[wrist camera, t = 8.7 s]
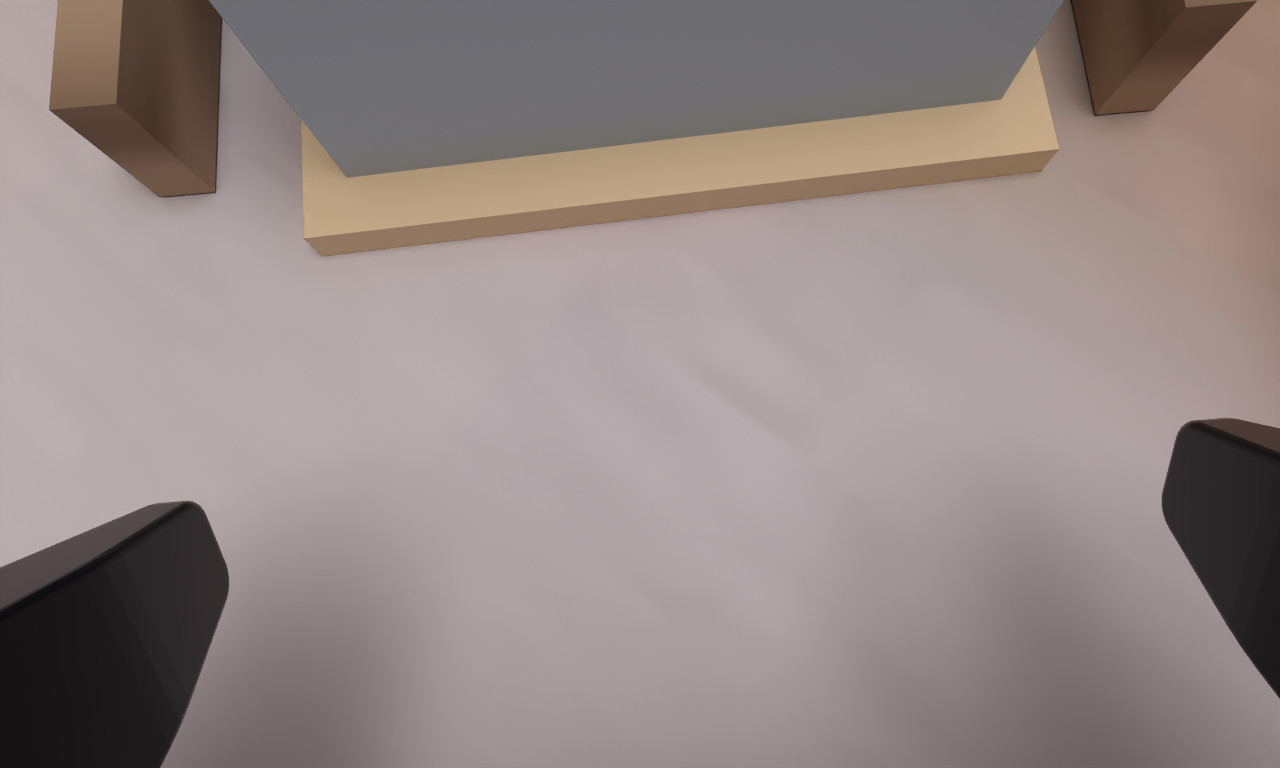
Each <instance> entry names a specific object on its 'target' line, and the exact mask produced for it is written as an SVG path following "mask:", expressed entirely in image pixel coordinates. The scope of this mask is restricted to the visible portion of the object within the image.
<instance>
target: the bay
mask: <svg viewBox="0 0 1280 768" xmlns="http://www.w3.org/2000/svg"><path fill="white" fill-rule="evenodd" d="M1256 2H1257V0H1072V4H1073V9H1074V14H1075V19H1076V23H1077V28H1078V33H1079V38H1080V43H1081V47H1082V52H1083V57H1084V62H1085V67H1086V72H1087V76H1088V81H1089V86H1090V91H1091V96H1092V100H1093V105H1094V110H1095V115H1101V114H1112V113H1123V112H1135V111H1146V110H1154V109H1155V108H1156V107H1157V106H1158V105H1159V104H1160V103H1161V102H1162V101H1163V100H1164V98H1165V97H1166V96H1167V95H1168V94H1169V93H1170V92H1171V91H1172V90H1173V89H1174V88H1175V87H1176V86H1177V85H1178V84H1179V83H1180V82H1181V81H1182V80H1183V78H1184V77H1185V76H1186V75H1187V74H1188V73H1189V72H1190V71H1191V70H1192V69H1193V68H1194V67H1195V66H1196V65H1197V64H1198V63H1199V62H1200V61H1201V60H1202V58H1203V57H1204V56H1205V55H1206V54H1207V53H1208V52H1209V51H1210V50H1211V49H1212V48H1213V47H1214V46H1215V45H1216V44H1217V43H1218V42H1219V41H1220V40H1221V38H1222V37H1223V36H1224V35H1225V34H1226V33H1227V32H1228V31H1229V30H1230V29H1231V28H1232V27H1233V26H1234V25H1235V24H1236V23H1237V22H1238V21H1239V20H1240V18H1241V17H1242V16H1243V15H1244V14H1245V13H1246V12H1247V11H1248V10H1249V9H1250V8H1251V7H1252V6H1253V5H1254V4H1255V3H1256ZM220 38H221V15H220V14H219V13H218V12H217V10H216V9H215V8H214V6H213V5H212V4H211V3H210V1H209V0H58V8H57V20H56V32H55V44H54V57H53V69H52V81H51V93H50V105H49V110H50V111H51V112H53V113H54V114H55V115H56V116H58V117H59V118H60V119H61V120H63V121H64V122H65V123H66V124H68V125H69V126H70V127H72V128H73V129H74V130H75V131H77V132H78V133H79V134H80V135H82V136H83V137H84V138H85V139H87V140H88V141H89V142H91V143H92V144H93V145H94V146H96V147H97V148H98V149H99V150H101V151H102V152H103V153H105V154H106V155H107V156H108V157H110V158H111V159H112V160H113V161H115V162H116V163H117V164H118V165H120V166H121V167H122V168H124V169H125V170H126V171H127V172H129V173H130V174H131V175H132V176H134V177H135V178H136V179H137V180H139V181H140V182H141V183H143V184H144V185H145V186H146V187H148V188H149V189H150V190H151V191H153V192H154V193H155V194H157V195H158V196H159V197H164V196H176V195H187V194H199V193H210V192H215V179H216V151H217V123H218V94H219V66H220Z"/></svg>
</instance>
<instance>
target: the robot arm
mask: <svg viewBox="0 0 1280 768" xmlns="http://www.w3.org/2000/svg"><path fill="white" fill-rule="evenodd" d="M1162 509H1163V514H1164V517H1165V521H1166V523H1167V525H1168V527H1169V529H1170V531H1171V532H1172V534H1173V536H1174V537H1175V539H1176V541H1177V542H1178V544H1179V546H1180V547H1181V549H1182V551H1183V552H1184V554H1185V556H1186V557H1187V559H1188V561H1189V562H1190V564H1191V566H1192V567H1193V569H1194V571H1195V572H1196V574H1197V576H1198V577H1199V579H1200V581H1201V583H1202V584H1203V586H1204V588H1205V589H1206V591H1207V593H1208V594H1209V596H1210V598H1211V599H1212V601H1213V603H1214V604H1215V606H1216V608H1217V609H1218V611H1219V613H1220V614H1221V616H1222V618H1223V619H1224V621H1225V623H1226V624H1227V626H1228V628H1229V629H1230V631H1231V632H1232V634H1233V635H1234V637H1235V638H1236V640H1237V641H1238V643H1239V644H1240V646H1241V648H1242V649H1243V650H1244V652H1245V653H1246V654H1247V656H1248V657H1249V659H1250V660H1251V661H1252V663H1253V664H1254V666H1255V667H1256V668H1257V670H1258V671H1259V672H1260V674H1261V675H1262V676H1263V677H1264V679H1265V680H1266V681H1267V683H1268V684H1269V685H1270V687H1271V688H1272V689H1273V691H1274V692H1275V693H1276V695H1277V696H1278V697H1279V698H1280V428H1275V427H1271V426H1266V425H1261V424H1257V423H1252V422H1248V421H1243V420H1239V419H1231V418H1220V419H1208V420H1195V421H1190V422H1187V423H1186V424H1185V425H1184V426H1182V427H1181V429H1180V430H1179V432H1178V434H1177V437H1176V440H1175V444H1174V448H1173V452H1172V456H1171V460H1170V464H1169V468H1168V472H1167V476H1166V480H1165V484H1164V488H1163V493H1162ZM228 591H229V574H228V569H227V565H226V563H225V560H224V558H223V555H222V553H221V550H220V548H219V545H218V543H217V540H216V538H215V535H214V533H213V530H212V528H211V526H210V523H209V521H208V518H207V516H206V514H205V512H204V510H203V509H202V507H201V506H200V505H198V504H196V503H195V502H192V501H181V502H168V503H157V504H153V505H148V506H146V507H144V508H141V509H139V510H137V511H134V512H132V513H129V514H127V515H125V516H122V517H120V518H117V519H115V520H113V521H110V522H108V523H105V524H103V525H101V526H98V527H96V528H94V529H91V530H89V531H86V532H84V533H82V534H79V535H77V536H74V537H72V538H70V539H67V540H65V541H63V542H60V543H58V544H55V545H53V546H51V547H48V548H46V549H43V550H41V551H39V552H36V553H34V554H31V555H29V556H27V557H24V558H22V559H20V560H17V561H15V562H12V563H10V564H8V565H5V566H3V567H0V768H160V767H161V765H162V763H163V761H164V759H165V757H166V755H167V753H168V751H169V749H170V747H171V745H172V743H173V740H174V738H175V736H176V734H177V732H178V730H179V727H180V725H181V723H182V720H183V718H184V715H185V713H186V711H187V708H188V706H189V703H190V700H191V698H192V695H193V692H194V689H195V686H196V684H197V681H198V678H199V675H200V673H201V670H202V667H203V664H204V661H205V659H206V656H207V653H208V650H209V647H210V645H211V642H212V639H213V636H214V633H215V631H216V628H217V625H218V622H219V619H220V617H221V614H222V611H223V608H224V606H225V603H226V600H227V596H228Z"/></svg>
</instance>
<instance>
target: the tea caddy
mask: <svg viewBox="0 0 1280 768" xmlns="http://www.w3.org/2000/svg"><path fill="white" fill-rule="evenodd" d="M209 1H210V3H211V4H212V5H213V6H214V8H215V9H216V10H217V12H218V13H219V14H220V15H221V17H222V18H223V19H224V21H225V22H226V23H227V24H228V26H229V27H230V28H231V30H232V31H233V32H234V33H235V35H236V36H237V37H238V39H239V40H240V41H241V42H242V44H243V45H244V46H245V48H246V49H247V50H248V51H249V53H250V54H251V55H252V57H253V58H254V59H255V60H256V62H257V63H258V64H259V66H260V67H261V68H262V69H263V71H264V72H265V73H266V75H267V76H268V77H269V78H270V80H271V81H272V82H273V84H274V85H275V86H276V87H277V89H278V90H279V91H280V93H281V94H282V95H283V96H284V98H285V99H286V100H287V102H288V103H289V104H290V106H291V107H292V108H293V109H294V111H295V112H296V113H297V115H298V116H299V117H300V118H301V143H302V181H303V220H304V239H305V240H306V241H307V242H308V243H309V244H310V245H311V246H312V247H313V248H314V249H315V250H316V251H317V252H318V253H319V254H320V255H321V256H329V255H338V254H346V253H355V252H363V251H372V250H380V249H389V248H397V247H405V246H414V245H422V244H431V243H439V242H448V241H456V240H465V239H473V238H481V237H490V236H498V235H507V234H515V233H524V232H532V231H541V230H549V229H557V228H566V227H574V226H583V225H591V224H600V223H608V222H617V221H625V220H633V219H642V218H650V217H659V216H667V215H676V214H684V213H693V212H701V211H709V210H718V209H726V208H735V207H743V206H752V205H760V204H769V203H777V202H785V201H794V200H802V199H811V198H819V197H828V196H836V195H845V194H853V193H862V192H870V191H878V190H887V189H895V188H904V187H912V186H921V185H929V184H938V183H946V182H954V181H963V180H971V179H980V178H988V177H997V176H1005V175H1014V174H1022V173H1030V172H1039V171H1041V170H1042V169H1043V168H1044V166H1045V165H1046V164H1047V163H1048V162H1049V160H1050V159H1051V158H1052V157H1053V156H1054V154H1055V153H1056V152H1057V151H1058V150H1059V147H1058V143H1057V138H1056V134H1055V130H1054V126H1053V121H1052V117H1051V113H1050V108H1049V104H1048V100H1047V96H1046V91H1045V87H1044V83H1043V79H1042V74H1041V70H1040V66H1039V61H1038V57H1037V53H1036V49H1035V45H1036V44H1037V42H1038V41H1039V39H1040V37H1041V36H1042V34H1043V33H1044V31H1045V29H1046V28H1047V26H1048V25H1049V23H1050V22H1051V20H1052V18H1053V17H1054V15H1055V14H1056V12H1057V11H1058V9H1059V7H1060V6H1061V4H1062V3H1063V1H1064V0H209Z"/></svg>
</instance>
